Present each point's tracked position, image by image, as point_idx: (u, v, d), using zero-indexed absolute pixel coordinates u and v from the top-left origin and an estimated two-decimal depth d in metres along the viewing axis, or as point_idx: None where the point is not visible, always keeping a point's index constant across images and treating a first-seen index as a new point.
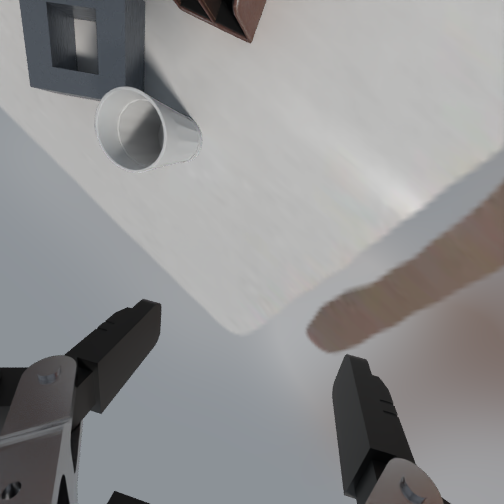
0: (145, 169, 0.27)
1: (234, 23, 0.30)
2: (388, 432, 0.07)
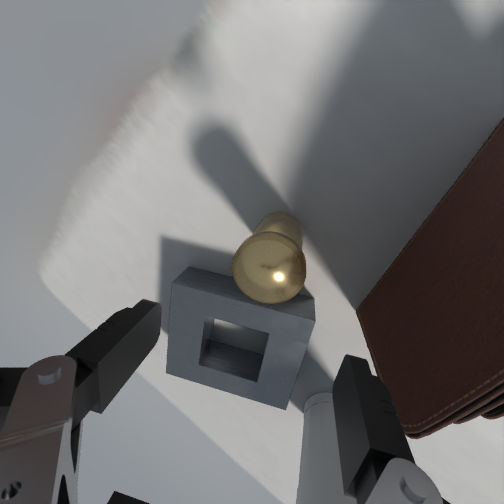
0: None
1: None
2: (388, 432, 0.07)
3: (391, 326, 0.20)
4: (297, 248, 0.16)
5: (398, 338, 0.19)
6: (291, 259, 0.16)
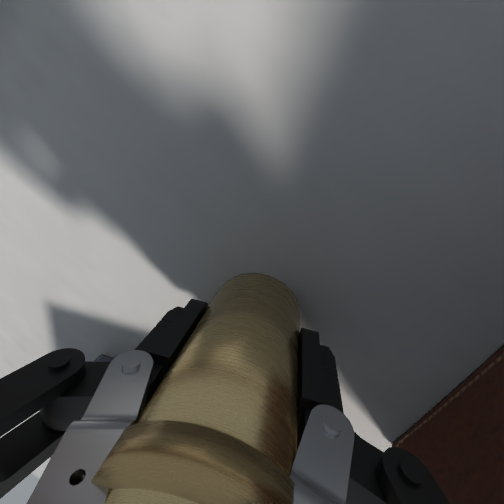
0: None
1: None
2: (321, 386, 0.08)
3: None
4: None
5: None
6: None
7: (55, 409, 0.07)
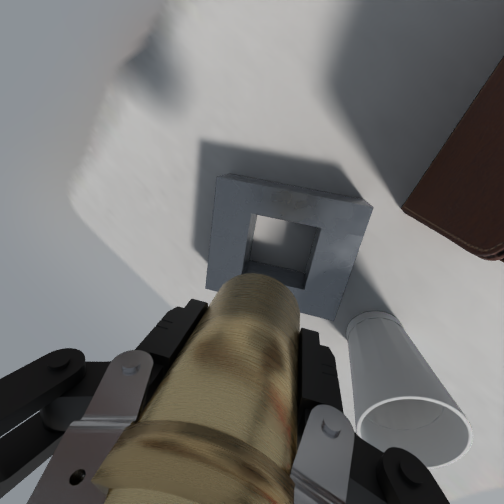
0: None
1: None
2: (321, 386, 0.08)
3: (453, 189, 0.19)
4: None
5: (465, 192, 0.17)
6: None
7: (55, 409, 0.07)
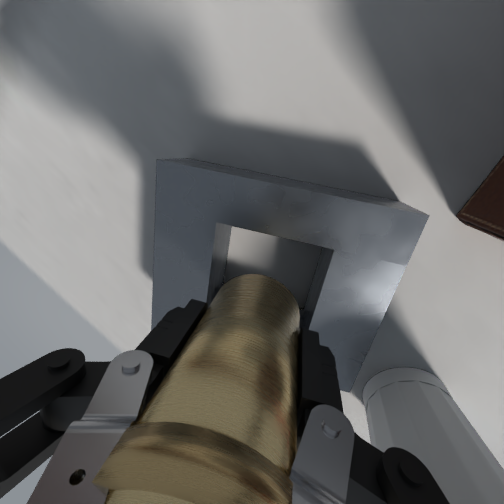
0: None
1: None
2: (321, 386, 0.08)
3: None
4: None
5: None
6: None
7: (55, 409, 0.07)
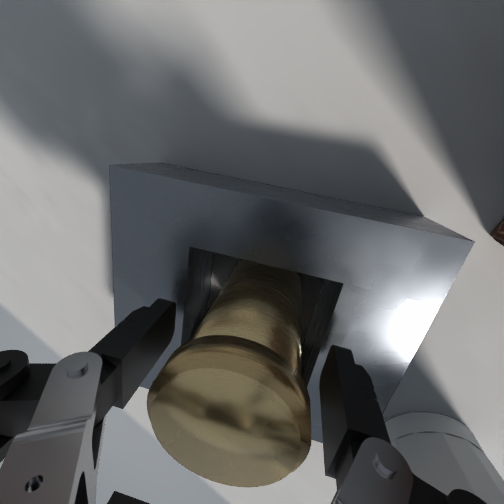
0: None
1: None
2: (366, 415, 0.07)
3: None
4: (290, 387, 0.07)
5: None
6: (276, 418, 0.07)
7: None
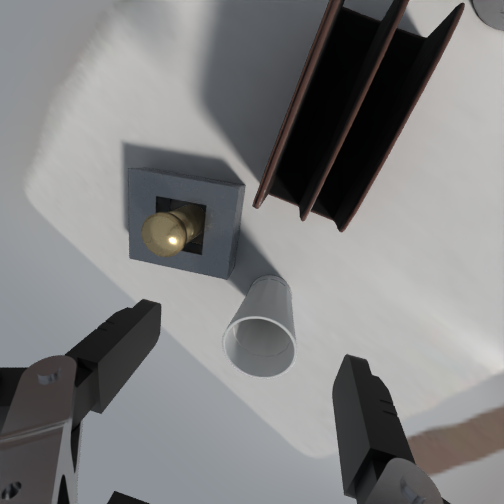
0: (269, 377, 0.28)
1: (321, 208, 0.32)
2: (388, 432, 0.07)
3: None
4: (176, 220, 0.28)
5: None
6: (172, 226, 0.27)
7: None
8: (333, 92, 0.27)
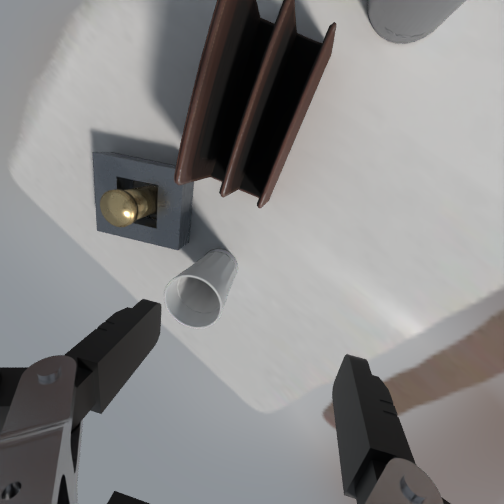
0: (202, 327, 0.34)
1: (255, 189, 0.38)
2: (388, 432, 0.07)
3: None
4: (128, 196, 0.33)
5: None
6: (124, 201, 0.33)
7: None
8: None
